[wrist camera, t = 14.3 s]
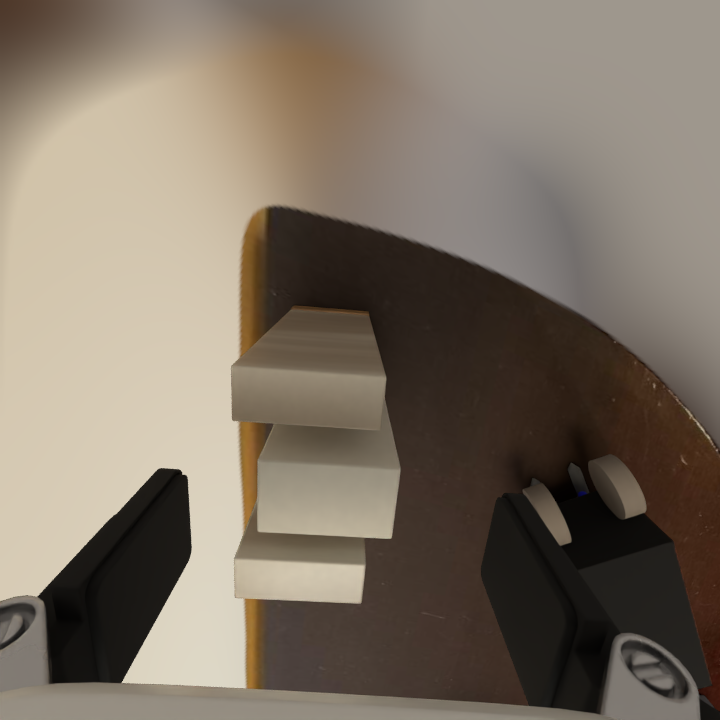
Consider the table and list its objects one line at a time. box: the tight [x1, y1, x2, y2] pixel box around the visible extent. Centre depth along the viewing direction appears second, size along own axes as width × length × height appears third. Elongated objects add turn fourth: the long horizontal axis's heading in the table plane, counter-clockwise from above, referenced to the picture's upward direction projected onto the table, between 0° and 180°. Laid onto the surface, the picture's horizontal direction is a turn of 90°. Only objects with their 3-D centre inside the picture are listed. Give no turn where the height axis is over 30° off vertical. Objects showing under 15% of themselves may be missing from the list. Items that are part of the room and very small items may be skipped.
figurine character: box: [523, 454, 712, 689], centre depth 24 cm, size 7×8×15 cm
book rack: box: [231, 305, 387, 603], centre depth 18 cm, size 9×5×12 cm, turn 175°
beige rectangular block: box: [257, 398, 401, 539], centre depth 17 cm, size 3×5×11 cm, turn 85°
